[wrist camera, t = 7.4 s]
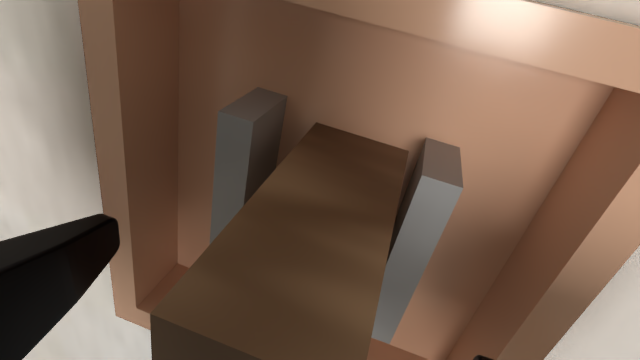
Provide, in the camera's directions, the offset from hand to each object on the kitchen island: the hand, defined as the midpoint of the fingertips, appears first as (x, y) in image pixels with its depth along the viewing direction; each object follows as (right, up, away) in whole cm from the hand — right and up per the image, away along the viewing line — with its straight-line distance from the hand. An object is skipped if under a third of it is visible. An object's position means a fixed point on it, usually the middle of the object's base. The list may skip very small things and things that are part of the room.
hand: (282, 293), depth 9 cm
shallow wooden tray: (+2, +2, +5) cm, 6 cm away
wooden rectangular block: (+2, +2, +4) cm, 5 cm away
